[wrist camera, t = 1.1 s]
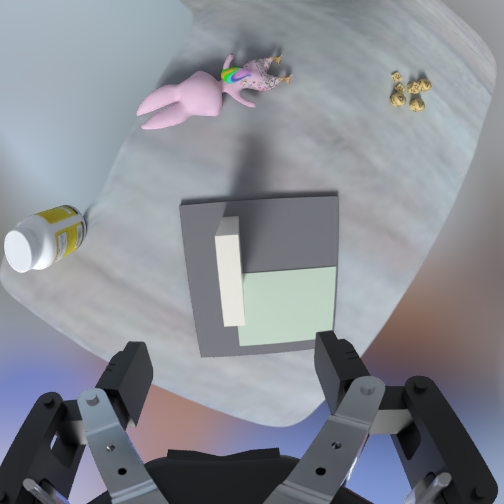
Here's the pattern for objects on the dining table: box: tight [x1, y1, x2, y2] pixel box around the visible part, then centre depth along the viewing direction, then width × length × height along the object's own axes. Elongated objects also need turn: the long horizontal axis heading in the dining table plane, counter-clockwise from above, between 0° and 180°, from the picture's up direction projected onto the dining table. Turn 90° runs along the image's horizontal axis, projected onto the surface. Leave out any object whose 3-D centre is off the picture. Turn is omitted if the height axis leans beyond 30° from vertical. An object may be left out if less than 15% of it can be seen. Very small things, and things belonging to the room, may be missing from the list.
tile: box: [215, 216, 245, 327], centre depth 25 cm, size 7×2×9 cm, turn 3°
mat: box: [179, 196, 338, 357], centre depth 31 cm, size 18×16×1 cm
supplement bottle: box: [4, 205, 86, 272], centre depth 23 cm, size 5×5×10 cm
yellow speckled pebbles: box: [390, 72, 432, 111], centre depth 25 cm, size 5×5×2 cm
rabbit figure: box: [137, 54, 291, 129], centre depth 23 cm, size 6×6×15 cm
